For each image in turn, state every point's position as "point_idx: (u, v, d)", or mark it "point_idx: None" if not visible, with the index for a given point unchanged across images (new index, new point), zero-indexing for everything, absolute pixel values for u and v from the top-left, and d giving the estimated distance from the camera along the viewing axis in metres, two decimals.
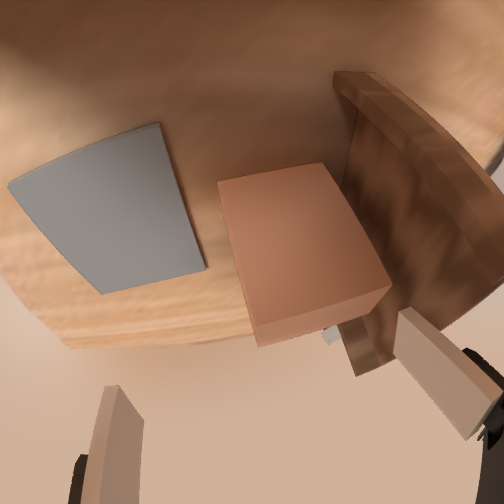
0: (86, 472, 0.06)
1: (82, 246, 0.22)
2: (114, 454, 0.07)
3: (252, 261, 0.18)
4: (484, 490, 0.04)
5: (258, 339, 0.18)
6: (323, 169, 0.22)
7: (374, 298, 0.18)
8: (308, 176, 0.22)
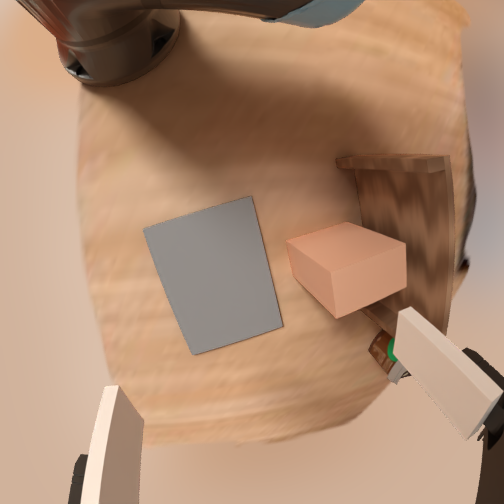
0: (86, 472, 0.06)
1: (188, 292, 0.34)
2: (114, 454, 0.07)
3: (318, 256, 0.28)
4: (484, 490, 0.04)
5: (335, 299, 0.25)
6: (348, 223, 0.36)
7: (400, 260, 0.26)
8: (340, 227, 0.35)
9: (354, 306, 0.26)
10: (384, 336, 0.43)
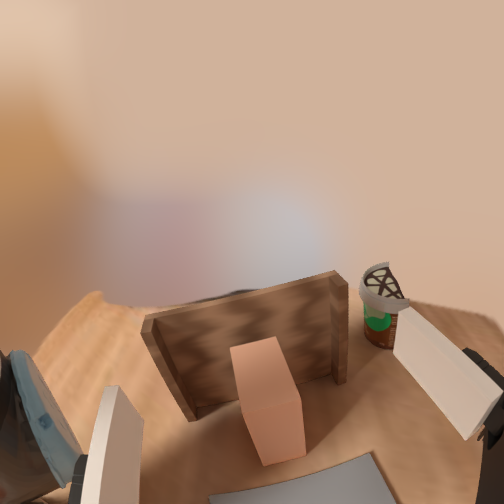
0: (86, 472, 0.06)
1: None
2: (114, 454, 0.07)
3: None
4: (484, 490, 0.04)
5: (275, 404, 0.21)
6: None
7: (245, 349, 0.28)
8: None
9: (288, 383, 0.23)
10: (377, 339, 0.39)
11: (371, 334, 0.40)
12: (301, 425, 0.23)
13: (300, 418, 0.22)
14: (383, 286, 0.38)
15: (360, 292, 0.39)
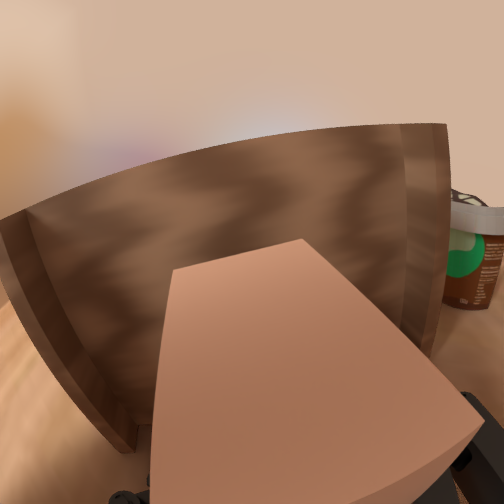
0: None
1: None
2: None
3: None
4: None
5: (360, 492, 0.02)
6: None
7: (215, 269, 0.10)
8: None
9: (396, 360, 0.04)
10: (456, 293, 0.20)
11: (446, 286, 0.21)
12: None
13: (421, 491, 0.04)
14: (459, 202, 0.20)
15: None
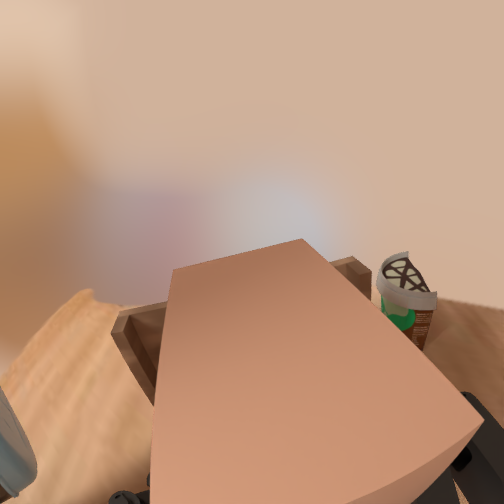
0: None
1: None
2: None
3: None
4: None
5: (360, 491, 0.02)
6: None
7: (215, 268, 0.10)
8: None
9: (396, 359, 0.04)
10: None
11: None
12: None
13: (421, 491, 0.04)
14: (405, 278, 0.32)
15: (378, 286, 0.33)
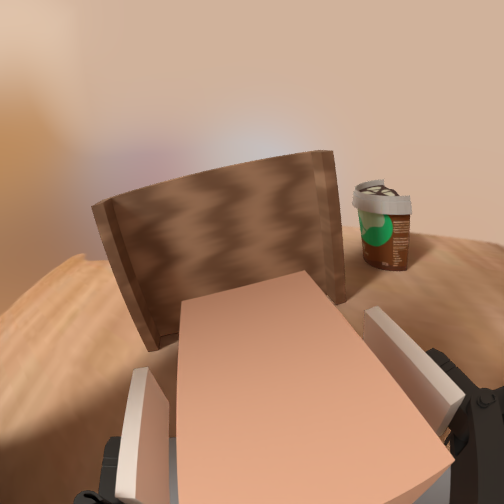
0: (120, 452, 0.07)
1: None
2: (147, 433, 0.08)
3: None
4: (456, 497, 0.04)
5: None
6: None
7: (222, 302, 0.10)
8: None
9: (385, 404, 0.05)
10: (378, 258, 0.34)
11: (371, 253, 0.35)
12: None
13: None
14: (379, 194, 0.34)
15: (353, 202, 0.35)
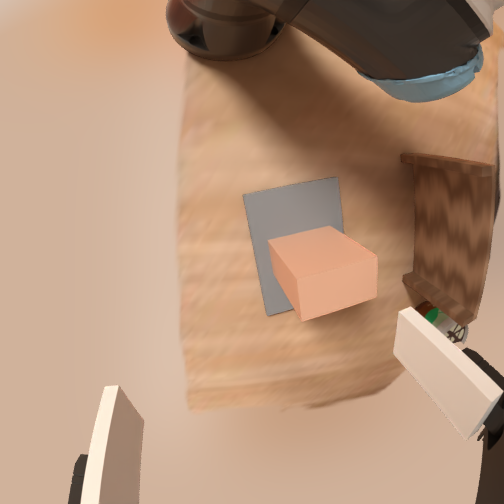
0: (86, 472, 0.06)
1: None
2: (114, 454, 0.07)
3: (291, 260, 0.30)
4: (484, 490, 0.04)
5: (300, 303, 0.27)
6: (330, 227, 0.37)
7: (371, 271, 0.28)
8: (321, 231, 0.37)
9: (320, 311, 0.28)
10: (420, 310, 0.47)
11: (426, 308, 0.47)
12: (288, 298, 0.32)
13: (292, 304, 0.31)
14: (450, 334, 0.41)
15: None
